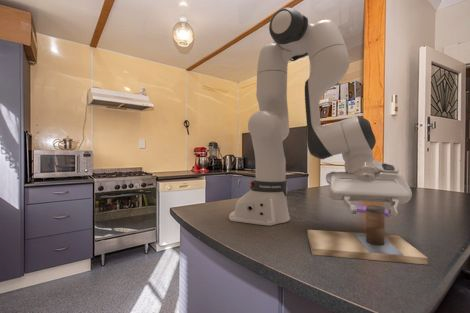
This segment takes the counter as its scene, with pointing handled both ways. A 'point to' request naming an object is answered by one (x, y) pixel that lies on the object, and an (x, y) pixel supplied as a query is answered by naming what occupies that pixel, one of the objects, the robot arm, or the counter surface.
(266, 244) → the counter surface
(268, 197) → the robot arm
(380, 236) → the peg
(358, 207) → the sponges
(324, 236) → the plywood board
